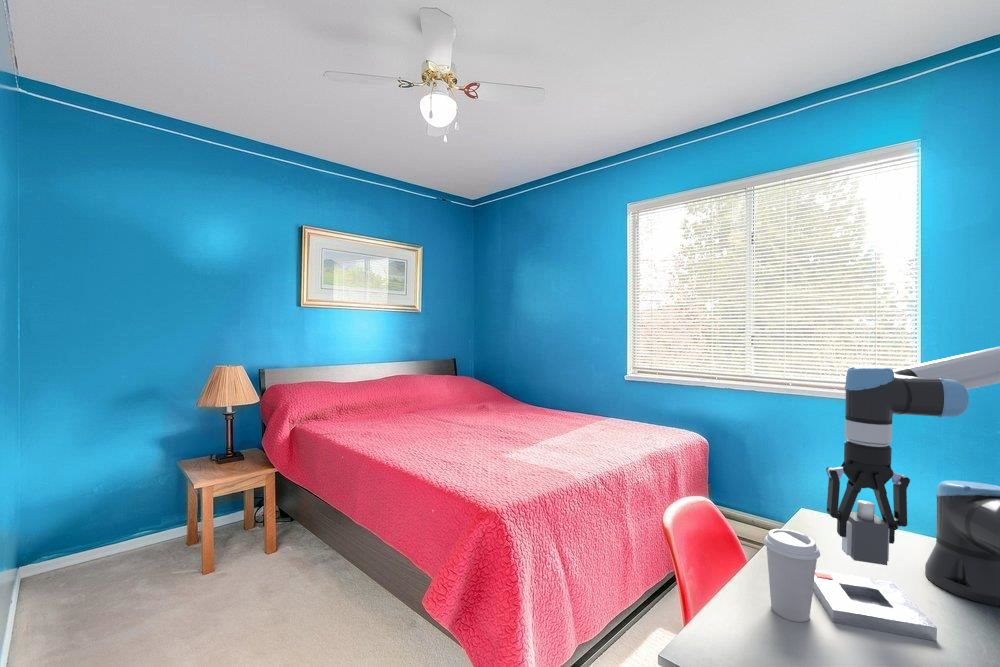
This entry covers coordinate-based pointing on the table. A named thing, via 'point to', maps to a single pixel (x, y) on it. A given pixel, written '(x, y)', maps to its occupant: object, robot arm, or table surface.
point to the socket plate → (871, 605)
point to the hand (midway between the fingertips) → (864, 554)
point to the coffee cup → (791, 572)
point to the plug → (868, 535)
